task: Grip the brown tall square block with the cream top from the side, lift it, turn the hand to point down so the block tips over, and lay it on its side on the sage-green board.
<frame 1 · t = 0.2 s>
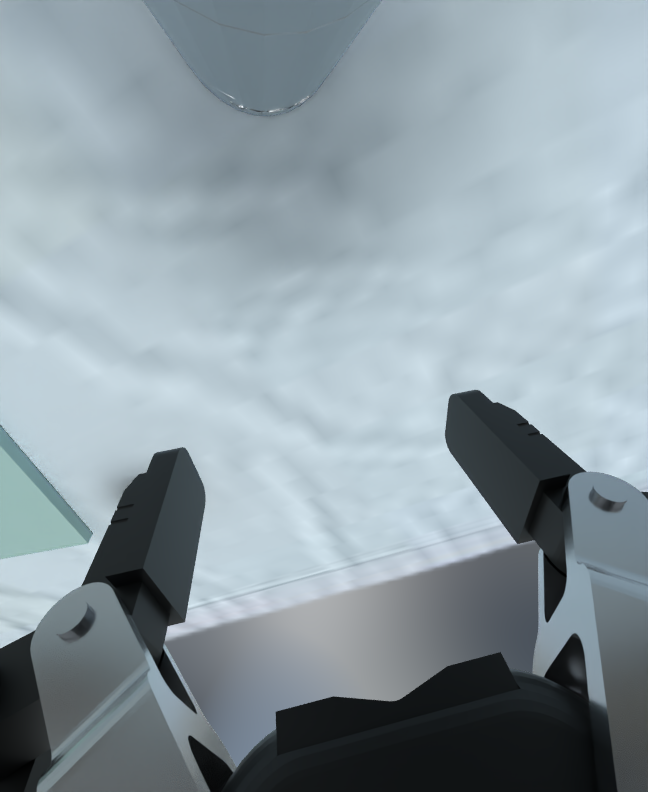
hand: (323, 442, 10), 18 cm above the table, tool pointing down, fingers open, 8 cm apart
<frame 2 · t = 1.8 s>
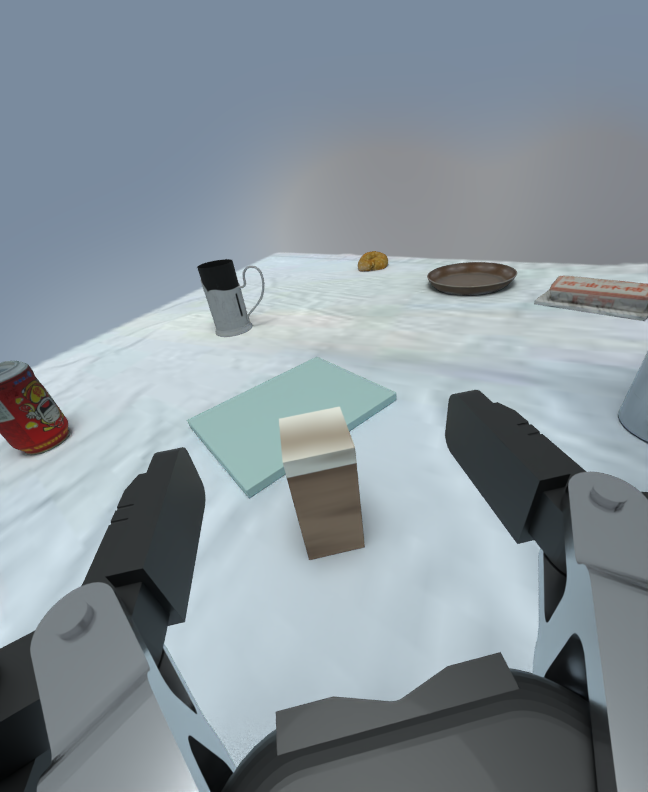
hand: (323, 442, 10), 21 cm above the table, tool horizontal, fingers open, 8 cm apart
brown tall square block: (331, 528, 31), on the table
bagel: (372, 268, 111), on the table
glass holder: (245, 329, 78), on the table
sage board: (292, 413, 47), on the table
soda can: (48, 442, 49), on the table
plant saucer: (468, 286, 84), on the table
packaged product: (591, 307, 65), on the table
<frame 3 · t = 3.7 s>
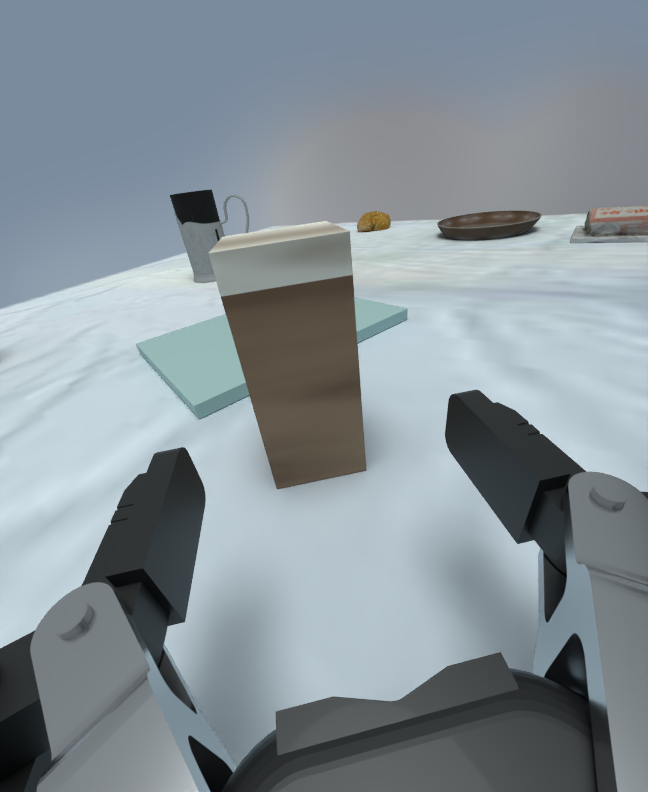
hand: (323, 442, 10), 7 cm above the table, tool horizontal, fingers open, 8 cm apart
brown tall square block: (315, 449, 20), on the table
bagel: (373, 230, 101), on the table
glass holder: (228, 276, 68), on the table
sage board: (272, 336, 36), on the table
plant saucer: (484, 235, 74), on the table
packaged product: (635, 240, 55), on the table
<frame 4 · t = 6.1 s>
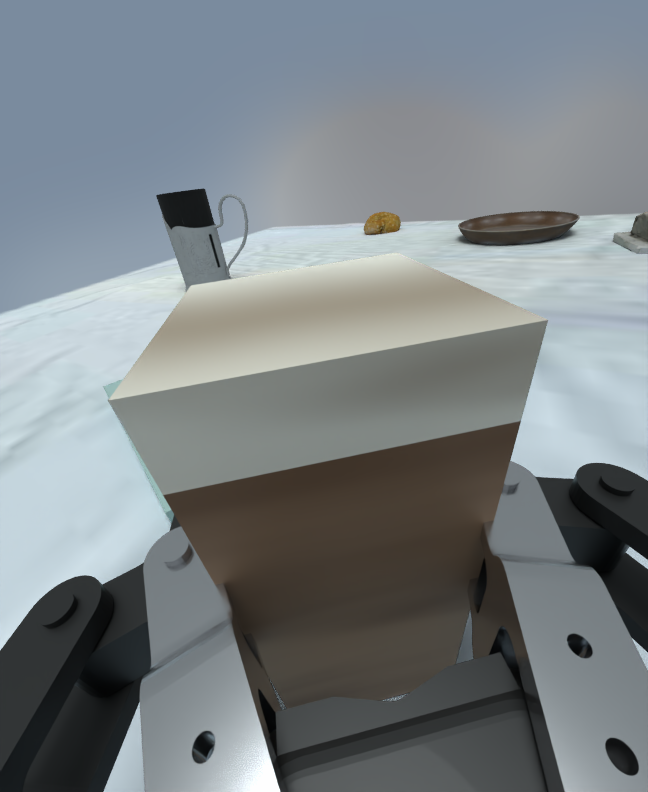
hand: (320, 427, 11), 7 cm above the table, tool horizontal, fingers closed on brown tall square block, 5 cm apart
brown tall square block: (354, 614, 12), on the table, touching gripper
bagel: (381, 233, 92), on the table
glass holder: (224, 287, 60), on the table
sage board: (277, 376, 28), on the table
plant saucer: (511, 238, 66), on the table
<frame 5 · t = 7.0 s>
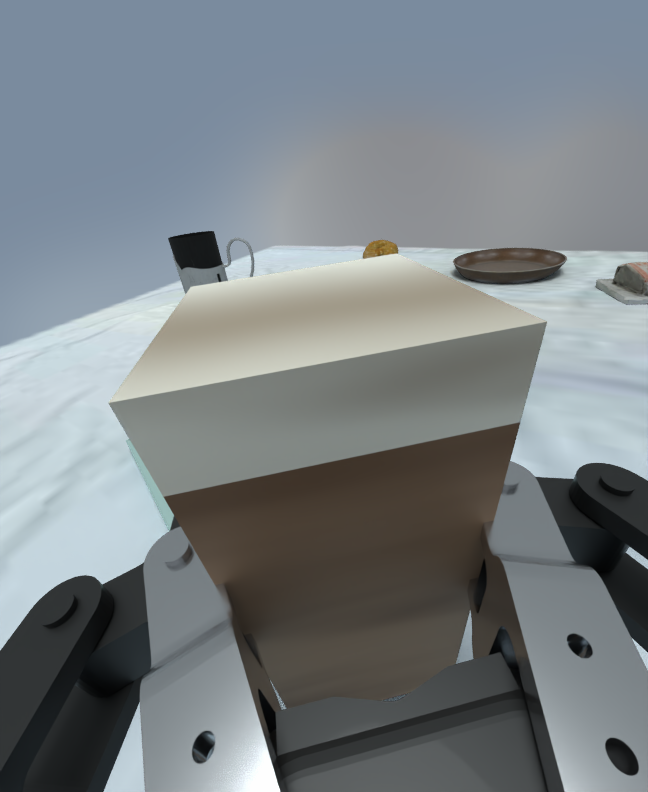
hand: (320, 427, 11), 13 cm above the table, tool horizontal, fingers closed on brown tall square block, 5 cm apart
brown tall square block: (355, 615, 12), point 6 cm above the table, touching gripper
bagel: (379, 260, 96), on the table
glass holder: (230, 320, 63), on the table
sage board: (284, 432, 31), on the table
plant saucer: (503, 275, 69), on the table
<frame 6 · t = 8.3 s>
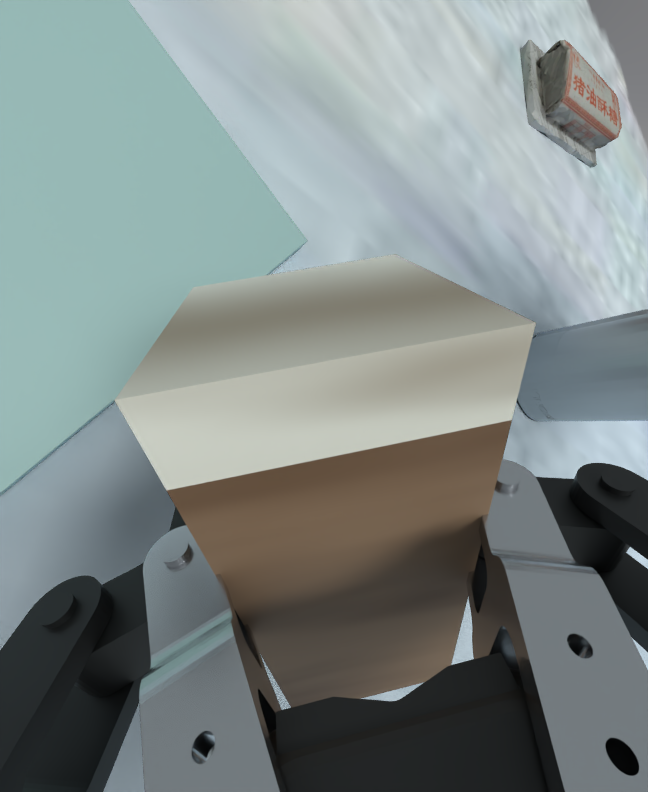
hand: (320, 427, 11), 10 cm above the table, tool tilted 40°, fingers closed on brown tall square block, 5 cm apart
brown tall square block: (354, 610, 12), point 8 cm above the table, tilted 62°, touching gripper
packaged product: (553, 117, 46), on the table
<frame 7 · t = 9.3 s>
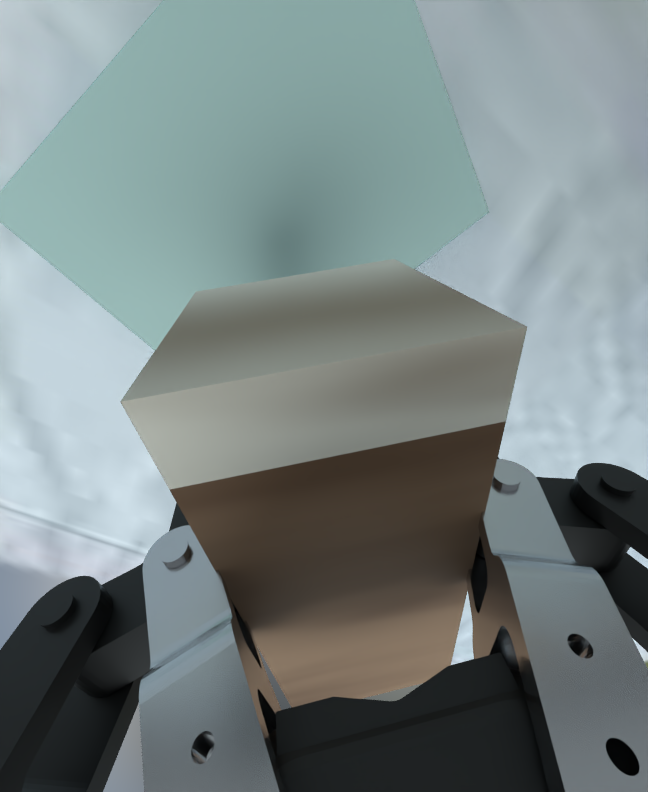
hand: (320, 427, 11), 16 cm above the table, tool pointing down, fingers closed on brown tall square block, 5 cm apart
brown tall square block: (354, 611, 13), point 18 cm above the table, tilted 90°, touching gripper
sage board: (263, 210, 21), on the table
when the fingers open (3 cm above the table, at t = 12.0 s): brown tall square block drops 1 cm, resting on sage board.
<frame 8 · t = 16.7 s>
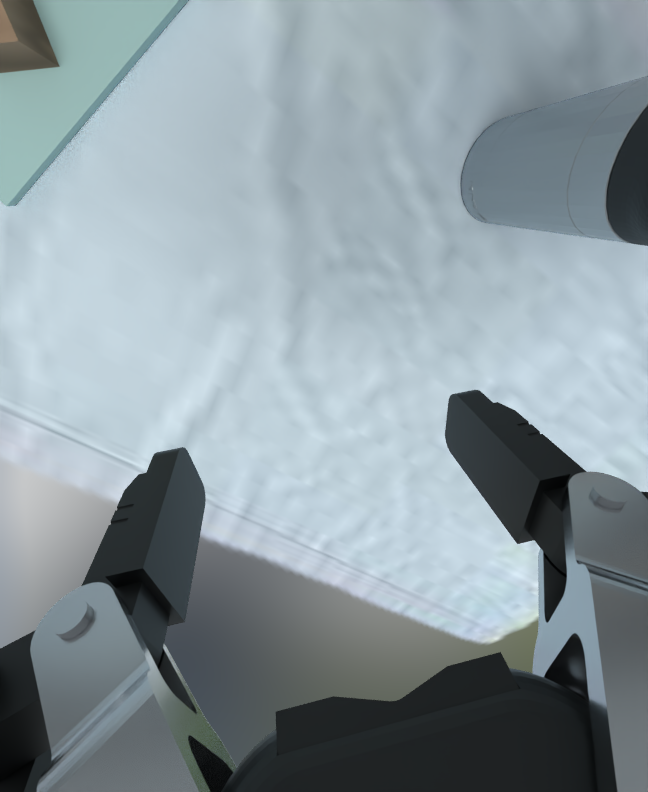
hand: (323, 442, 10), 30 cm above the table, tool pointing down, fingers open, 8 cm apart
brown tall square block: (2, 59, 22), point 4 cm above the table, tilted 90°, touching sage board
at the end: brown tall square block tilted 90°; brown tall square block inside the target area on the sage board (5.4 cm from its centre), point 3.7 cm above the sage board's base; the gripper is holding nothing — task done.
